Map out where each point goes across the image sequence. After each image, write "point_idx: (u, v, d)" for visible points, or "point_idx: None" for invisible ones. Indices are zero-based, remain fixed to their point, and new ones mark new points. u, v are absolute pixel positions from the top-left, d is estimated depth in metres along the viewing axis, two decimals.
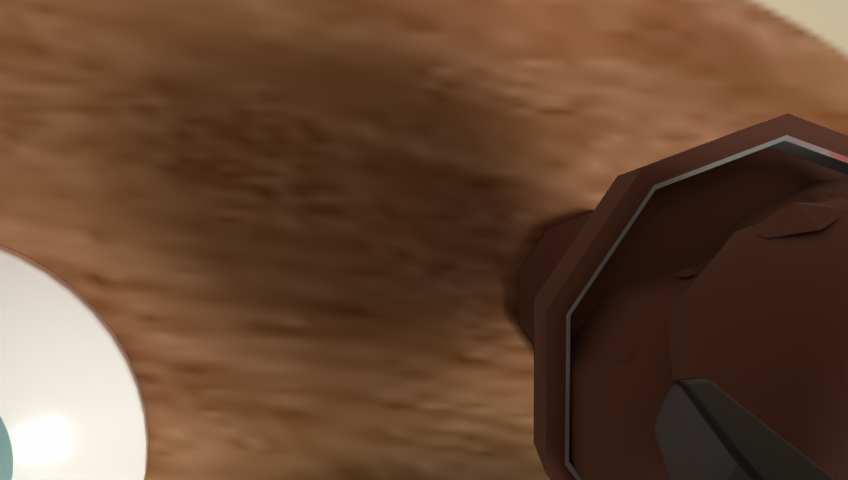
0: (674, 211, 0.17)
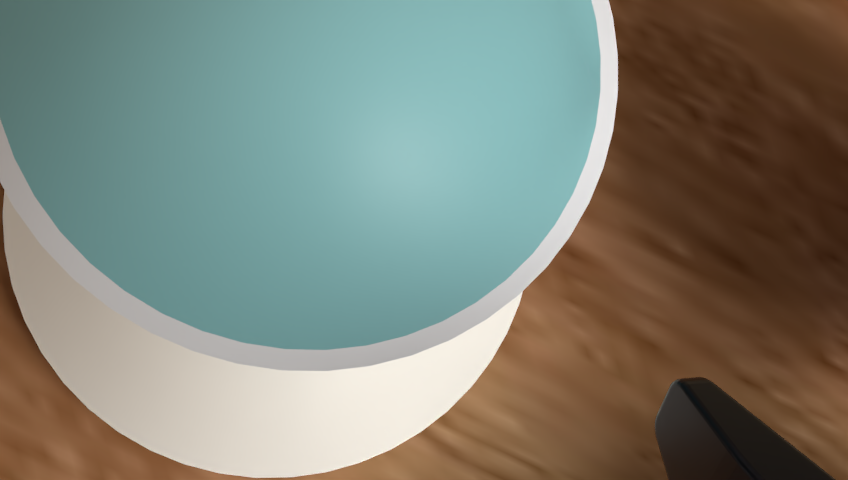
0: None
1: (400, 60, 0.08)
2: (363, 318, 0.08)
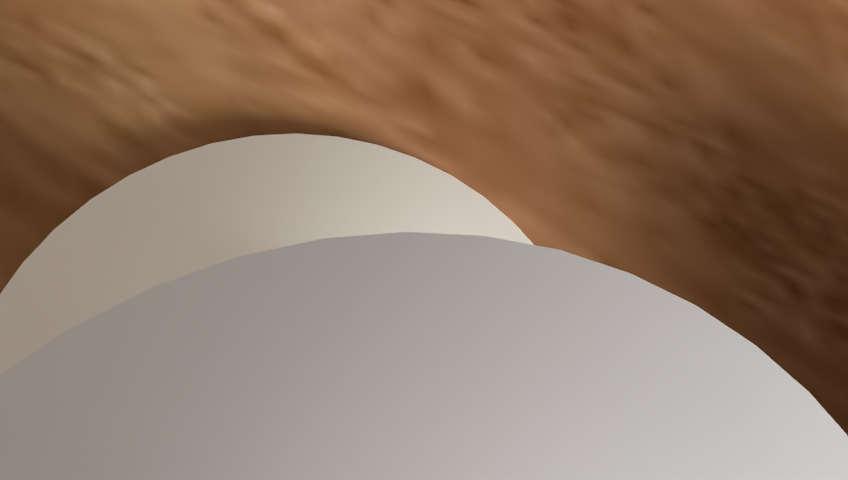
0: None
1: None
2: None
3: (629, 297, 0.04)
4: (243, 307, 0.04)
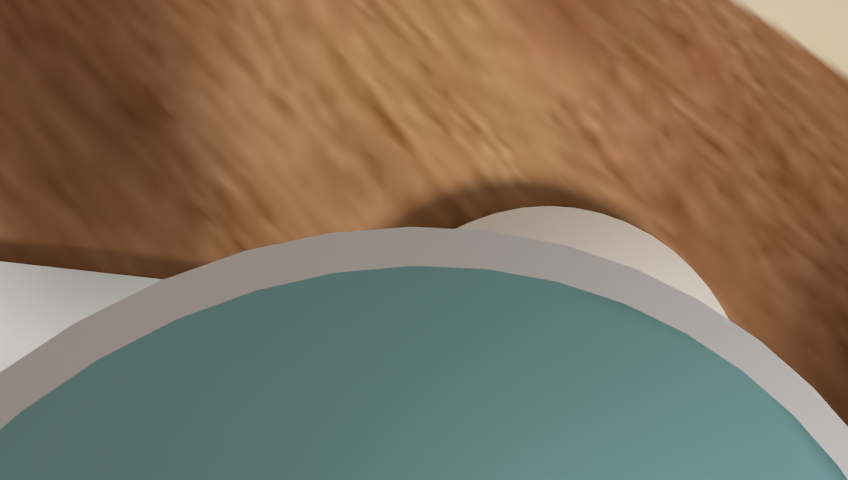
0: None
1: None
2: None
3: (634, 293, 0.04)
4: (249, 301, 0.04)
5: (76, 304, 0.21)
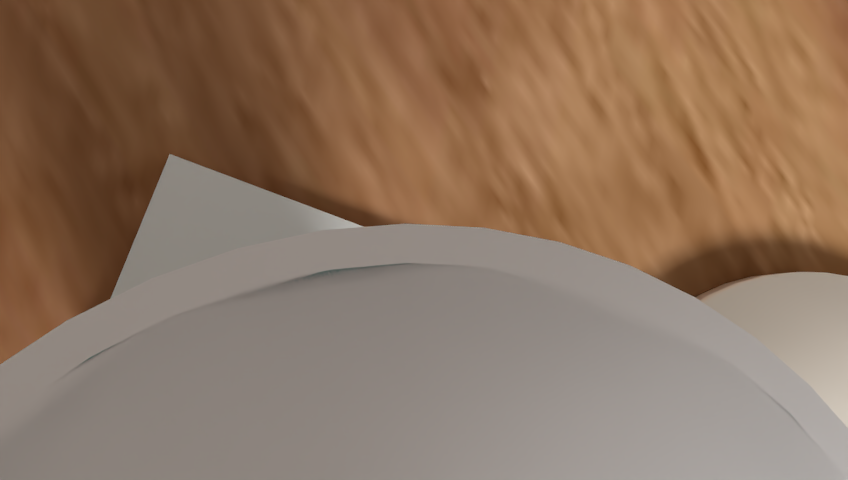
0: None
1: None
2: None
3: (629, 292, 0.04)
4: (242, 299, 0.04)
5: None
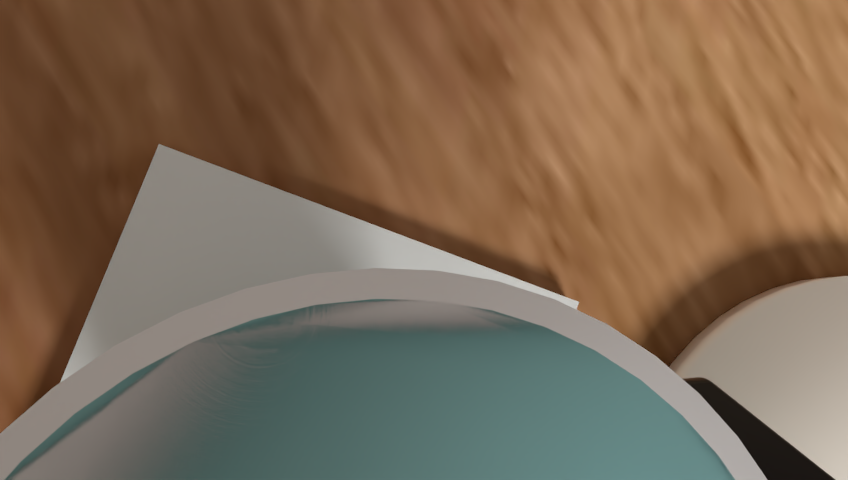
0: None
1: None
2: None
3: (552, 319, 0.05)
4: (248, 328, 0.05)
5: None
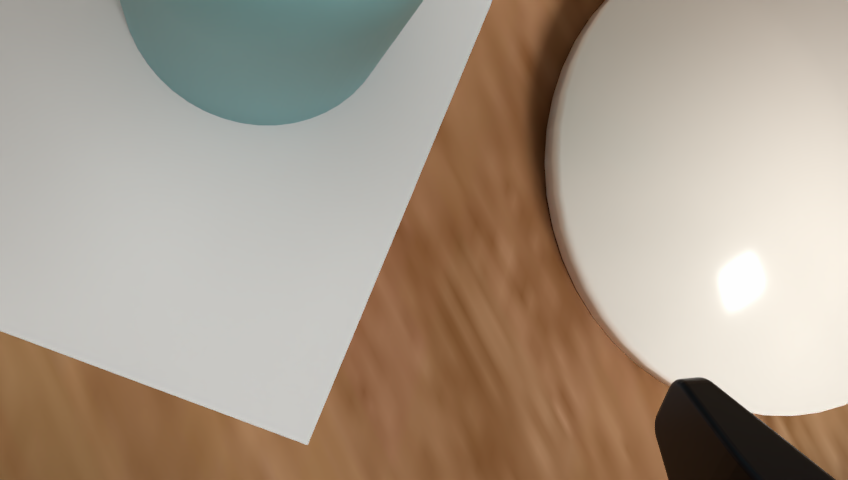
0: None
1: None
2: None
3: None
4: None
5: None
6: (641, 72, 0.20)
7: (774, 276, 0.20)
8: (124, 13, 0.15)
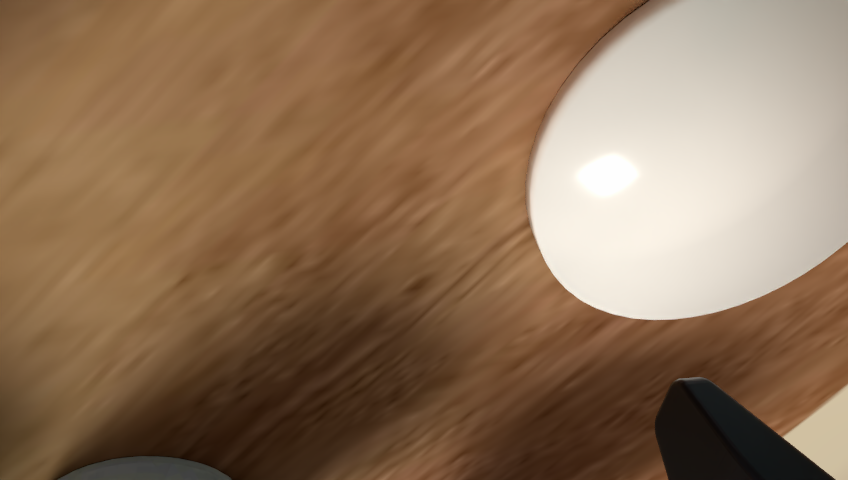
0: None
1: None
2: None
3: None
4: None
5: None
6: (810, 27, 0.21)
7: (645, 194, 0.24)
8: None
